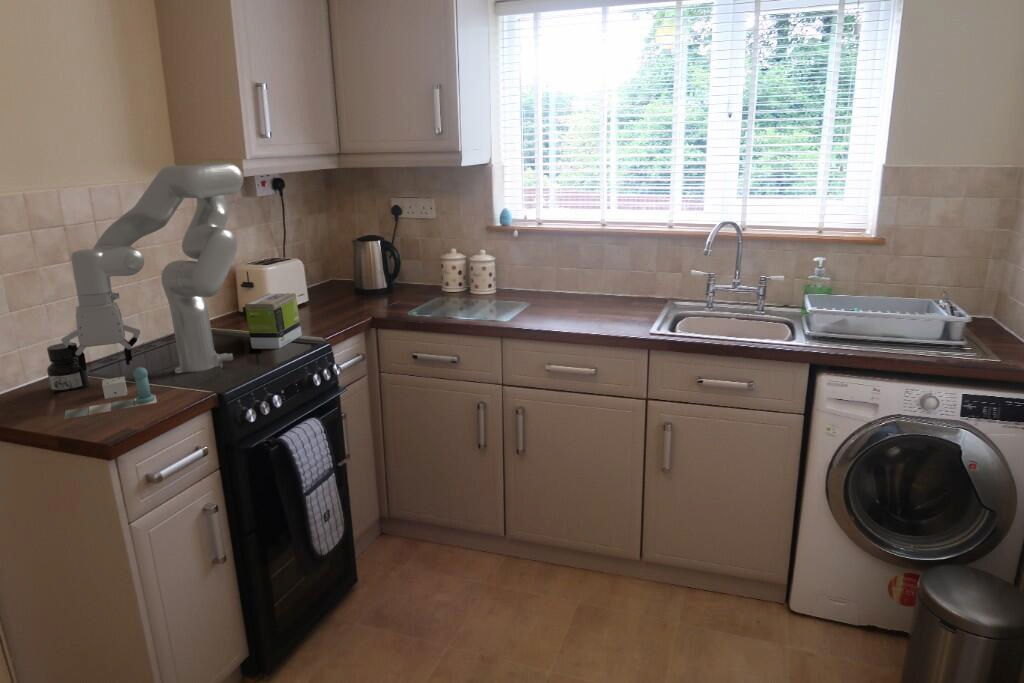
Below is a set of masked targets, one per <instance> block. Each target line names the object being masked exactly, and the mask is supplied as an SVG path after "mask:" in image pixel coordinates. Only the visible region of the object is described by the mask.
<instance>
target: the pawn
mask: <svg viewBox="0 0 1024 683" xmlns="http://www.w3.org/2000/svg"><path fill="white" fill-rule="evenodd" d="M148 374H149V373H148V370H147V369H146V368H145V367H142V366H141V367H140V366H139V367H137V368H135V369H134V370H133V372H132V375H133V378H134V381H135V385H136V390H137V391H136V392H137V396H136V397H135V398H136V401H137V403H147V402H151V401H153V400H154V395H155V394H153V393H151V388H150V384H149V382H150V381H149V377H148Z"/></svg>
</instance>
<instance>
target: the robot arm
mask: <svg viewBox="0 0 1024 683" xmlns="http://www.w3.org/2000/svg"><path fill="white" fill-rule="evenodd" d="M243 184H244V174H243V171H242V170H241V169H240V168H239V166H238V165H236V164H234V163H232V162H201V163H197V164H195V165H194V164H193V165H192V164H191V165H190V164H189V165H188V164H187V165H168V166H165V167H163V168H161V169H160V170H159V171H158V173H157V174H156V175H155V177H154V178H153V179H152V181H151V182H150V184H149V185H148V187H147V188H146V190H145V191H144V193H143V194H142V196H141V197H140V198H139V199H138V201H137V202H136V204H135V205H134V206H133V207H132V208H131V209H129V210H127V211H126V212H125V213H124V214H123V215H122V216H120V217H119V218H118V219H117V220H115V221H114V222H112V224H110V226H108V227H107V229H105V230H104V232H103V233H102V235H101V236H100V237H99V238H98V240H97V242H96V243H95V244H94V246H93V248H89V249H87V248H86V249H85V248H84V249H80V250H75V251H73V252H72V253H71V255H70V260H71V264H72V271H73V276H74V284H75V288H76V289H75V290H76V296H77V301H78V306H76V308H75V323H76V325H75V326H76V329H75V330H74V331H72V332H70V333H69V334H67V335H65V336H63V337H62V338H61V340H60V341H61V342H62V343H63V344H64V345H65V346H66V347H67V348H68V349H69V350H70V351H72V352H73V353H75V354H76V355H77V356H78V362H79V367H83V371H85V370H86V369H87V362H86V356H85V352H84V350H85V349H86V348H88V347H89V348H90V347H98V346H99V347H100V346H101V347H102V346H109V345H115V344H120V345H121V346H123V347H124V349H123V351H124V359H125V363H126V366H130V361H133V356H132V350H131V349H132V347H133V346H134V345H135V344H136V343H137V341H138V339H139V336H140V334H141V330H140V329H139V328H136V327H132V326H129V325H127V324H124V321H123V317H122V313H121V309H120V306H119V305H118V304H119V303H118V302H116V301H115V300H117V299H120V293H119V292H117V293H116V292H114V291H113V290H112V289H113V288H112V283H111V282H112V281H111V278H112V277H128V276H129V277H130V276H134V275H136V274H137V273H140V272H141V270H142V269H143V268H144V264H145V258H144V255H143V253H141V251H140V250H139V249H137V248H135V247H132V246H133V245H134V243H136V242H137V241H139V240H140V239H142V238H143V237H145V236H147V235H148V236H149V235H150V234H153V233H155V232H158V231H160V230H161V229H163V228H164V227H166V226H167V224H168V223H169V221H170V219H171V218H172V217H173V215H174V214H175V212H176V211H177V209H178V208H179V206H180V205H181V203H182V202H183V200H184V199H196V209H195V211H194V213H193V214H194V215H193V217H192V218H191V221H190V223H189V225H188V227H187V230H186V232H185V234H184V236H183V237H182V238H183V239H182V243H181V249H182V252H183V253H184V255H186V257H188V258H190V259H193V260H184V259H180V260H174V261H172V262H169V263H168V264H166V265H165V266H164V268H163V270H162V271H161V272H162V273H161V275H160V276H161V285H162V288H163V291H164V293H165V296H166V298H167V302H168V306H169V309H170V315H171V321H172V327H173V332H174V338H175V339H174V340H175V344H176V350H177V356H178V362H179V366H178V367H176V368H175V369H174V374H181V373H195V372H196V373H197V372H202V371H207V370H210V369H212V368H216V367H220V368H221V369H223V368H224V367H223V362H226V361H227V362H229V361H233V360H234V356H233V353H227V352H224V353H220V354H219V353H217V352H216V350H215V345H214V339H213V333H212V326H211V320H210V312H209V308H208V305H207V302H206V298H210V297H213V296H216V294H217V293H218V292H219V291H220V290H221V289H222V287H223V286H224V283H225V280H226V278H227V276H228V274H229V272H230V269H231V266H232V264H233V262H234V260H235V257H236V254H237V252H238V251H237V249H238V242H237V239H236V236H235V234H234V233H233V232H232V231H231V230H230V229H228V228H226V224H227V221H228V218H229V207H228V203H227V199H226V198H225V195H226V196H227V195H232V194H233V195H234V194H235V193H237V192H238V191H240V190H241V188H242V187H243ZM195 260H197V261H195ZM114 301H115V302H114ZM127 332H128V333H131V334H132V337H131V338H130V339H129V340H127V339H126V333H127ZM75 338H77V339H78V344H79V345H78V346H77V347H76V346H74V345H73V344H71V343H72V342H71V340H73V339H75Z"/></svg>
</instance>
